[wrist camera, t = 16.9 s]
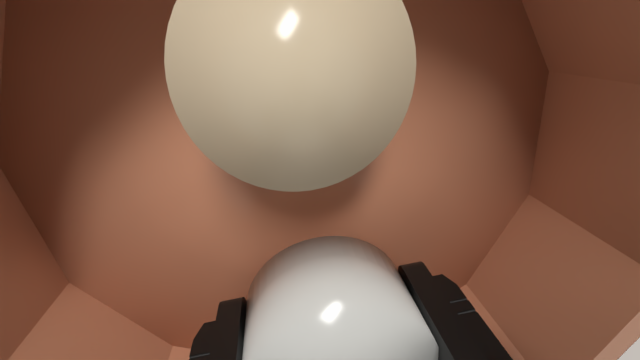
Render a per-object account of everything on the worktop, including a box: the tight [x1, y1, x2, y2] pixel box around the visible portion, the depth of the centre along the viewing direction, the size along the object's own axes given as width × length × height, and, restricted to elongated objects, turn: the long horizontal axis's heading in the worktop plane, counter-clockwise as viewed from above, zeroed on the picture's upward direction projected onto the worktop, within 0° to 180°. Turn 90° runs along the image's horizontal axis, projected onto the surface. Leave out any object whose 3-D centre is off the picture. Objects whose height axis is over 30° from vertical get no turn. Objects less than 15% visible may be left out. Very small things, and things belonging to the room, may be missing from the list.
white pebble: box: [242, 236, 439, 360], centre depth 9 cm, size 5×5×3 cm
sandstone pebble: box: [164, 0, 416, 192], centre depth 8 cm, size 5×5×3 cm
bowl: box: [0, 0, 640, 360], centre depth 9 cm, size 18×18×6 cm
